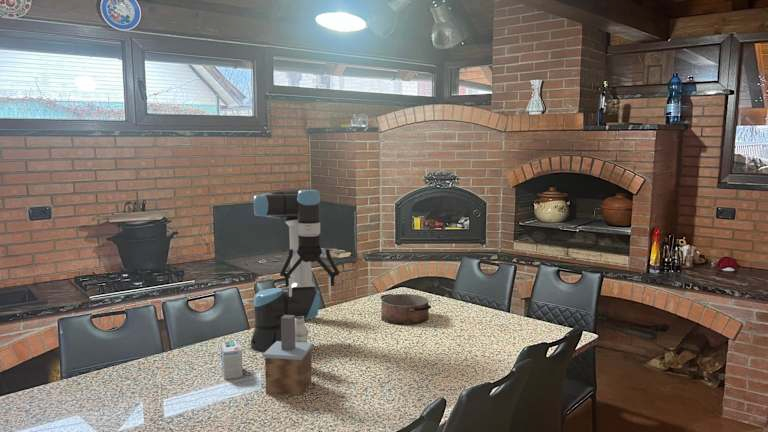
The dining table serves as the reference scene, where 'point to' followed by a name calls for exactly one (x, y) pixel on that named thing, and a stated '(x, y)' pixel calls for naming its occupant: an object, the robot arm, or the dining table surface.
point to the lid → (288, 342)
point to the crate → (288, 375)
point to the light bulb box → (231, 360)
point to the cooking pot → (404, 309)
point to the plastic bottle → (300, 330)
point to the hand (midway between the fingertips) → (310, 295)
